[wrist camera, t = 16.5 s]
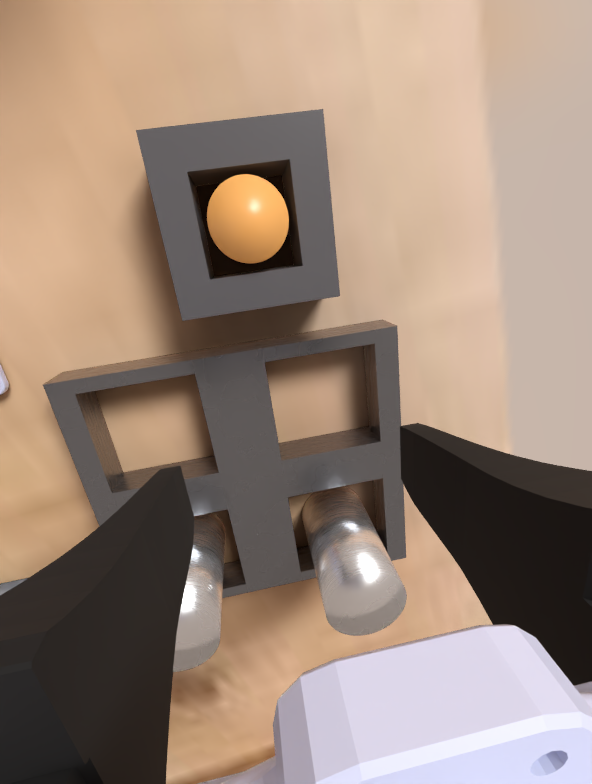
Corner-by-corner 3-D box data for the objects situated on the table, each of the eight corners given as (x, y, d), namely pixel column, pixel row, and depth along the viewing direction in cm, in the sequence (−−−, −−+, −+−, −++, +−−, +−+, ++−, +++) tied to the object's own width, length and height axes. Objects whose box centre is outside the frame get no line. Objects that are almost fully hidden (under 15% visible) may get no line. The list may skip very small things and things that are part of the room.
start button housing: (191, 311, 19) (182, 320, 16) (153, 152, 16) (136, 130, 14) (325, 290, 19) (339, 296, 17) (309, 134, 17) (323, 109, 14)
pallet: (144, 589, 24) (136, 617, 22) (62, 372, 19) (42, 384, 17) (394, 535, 26) (406, 557, 24) (382, 320, 20) (397, 325, 18)
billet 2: (336, 545, 25) (370, 645, 19) (289, 520, 24) (308, 618, 17) (373, 502, 24) (422, 591, 18) (327, 475, 23) (362, 559, 17)
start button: (220, 267, 18) (216, 268, 15) (205, 193, 17) (198, 179, 14) (285, 257, 18) (293, 257, 15) (275, 184, 17) (282, 169, 14)
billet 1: (169, 565, 24) (142, 680, 17) (152, 514, 22) (116, 619, 16) (231, 552, 24) (227, 660, 18) (218, 501, 23) (209, 598, 16)
